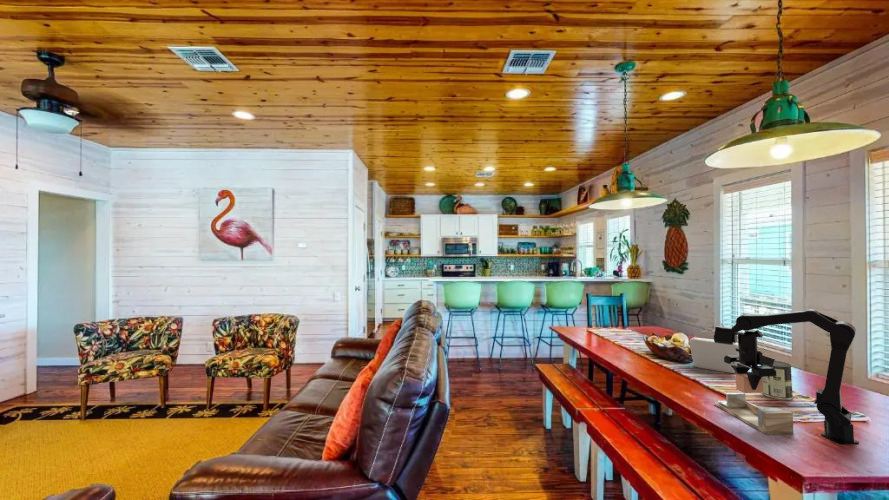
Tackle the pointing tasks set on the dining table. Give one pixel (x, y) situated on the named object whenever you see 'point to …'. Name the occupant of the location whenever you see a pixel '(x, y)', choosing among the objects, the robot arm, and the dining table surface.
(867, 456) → the dining table surface
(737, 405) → the bookend
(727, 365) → the radio
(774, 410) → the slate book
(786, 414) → the beige piece
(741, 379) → the terracotta book
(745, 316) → the robot arm
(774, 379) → the coffee can
